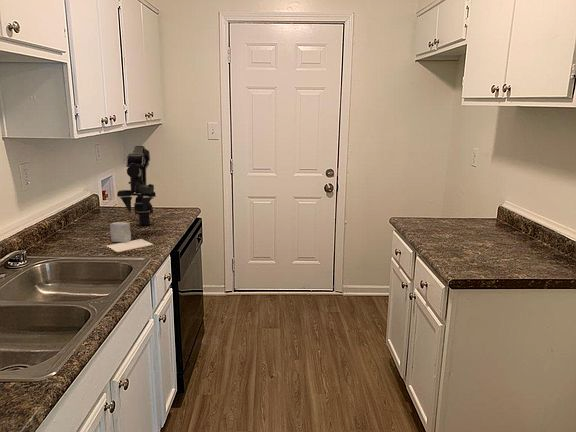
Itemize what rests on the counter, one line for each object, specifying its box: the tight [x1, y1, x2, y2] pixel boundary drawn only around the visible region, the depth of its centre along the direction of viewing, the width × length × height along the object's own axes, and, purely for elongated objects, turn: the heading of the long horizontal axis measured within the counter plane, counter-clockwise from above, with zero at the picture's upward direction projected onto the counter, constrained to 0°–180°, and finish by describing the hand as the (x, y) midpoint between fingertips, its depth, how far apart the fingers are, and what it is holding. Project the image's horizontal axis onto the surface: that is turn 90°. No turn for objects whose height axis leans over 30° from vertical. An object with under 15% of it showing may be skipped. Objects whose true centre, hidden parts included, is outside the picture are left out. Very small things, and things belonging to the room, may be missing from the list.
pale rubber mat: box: [106, 238, 154, 253], centre depth 213 cm, size 12×17×1 cm
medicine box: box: [109, 221, 132, 243], centre depth 218 cm, size 8×4×9 cm, turn 74°
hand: (137, 211), depth 226 cm, fingers open, 9 cm apart
